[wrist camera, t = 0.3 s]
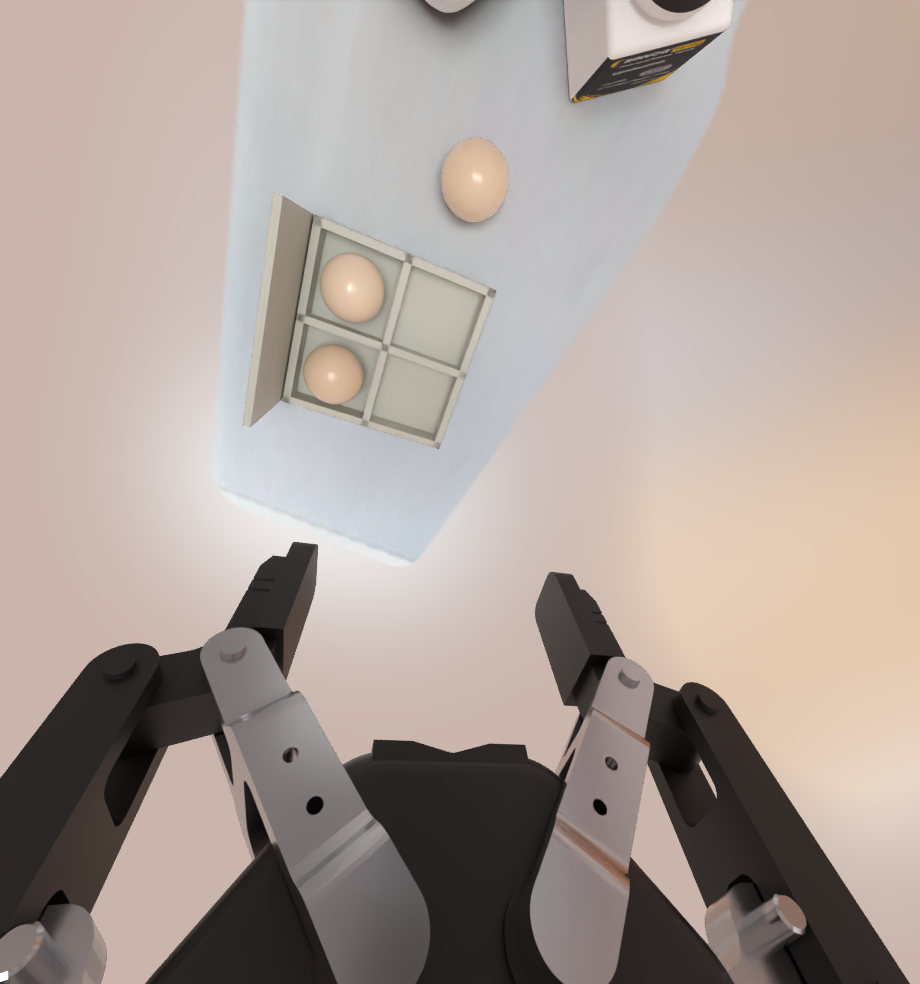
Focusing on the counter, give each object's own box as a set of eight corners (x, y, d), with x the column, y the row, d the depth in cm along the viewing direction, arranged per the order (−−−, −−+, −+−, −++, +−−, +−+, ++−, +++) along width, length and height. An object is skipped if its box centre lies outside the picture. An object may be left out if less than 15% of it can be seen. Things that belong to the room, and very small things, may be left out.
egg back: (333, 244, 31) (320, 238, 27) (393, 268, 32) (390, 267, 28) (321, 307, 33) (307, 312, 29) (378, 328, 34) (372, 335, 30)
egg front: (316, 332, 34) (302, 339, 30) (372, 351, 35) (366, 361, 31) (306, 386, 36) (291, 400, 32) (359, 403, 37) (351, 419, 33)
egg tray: (312, 215, 31) (273, 191, 22) (491, 289, 34) (514, 293, 26) (282, 391, 37) (242, 424, 28) (437, 439, 40) (442, 482, 32)
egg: (452, 135, 29) (457, 111, 25) (511, 165, 30) (526, 147, 26) (431, 210, 31) (433, 199, 27) (488, 236, 32) (498, 229, 28)
